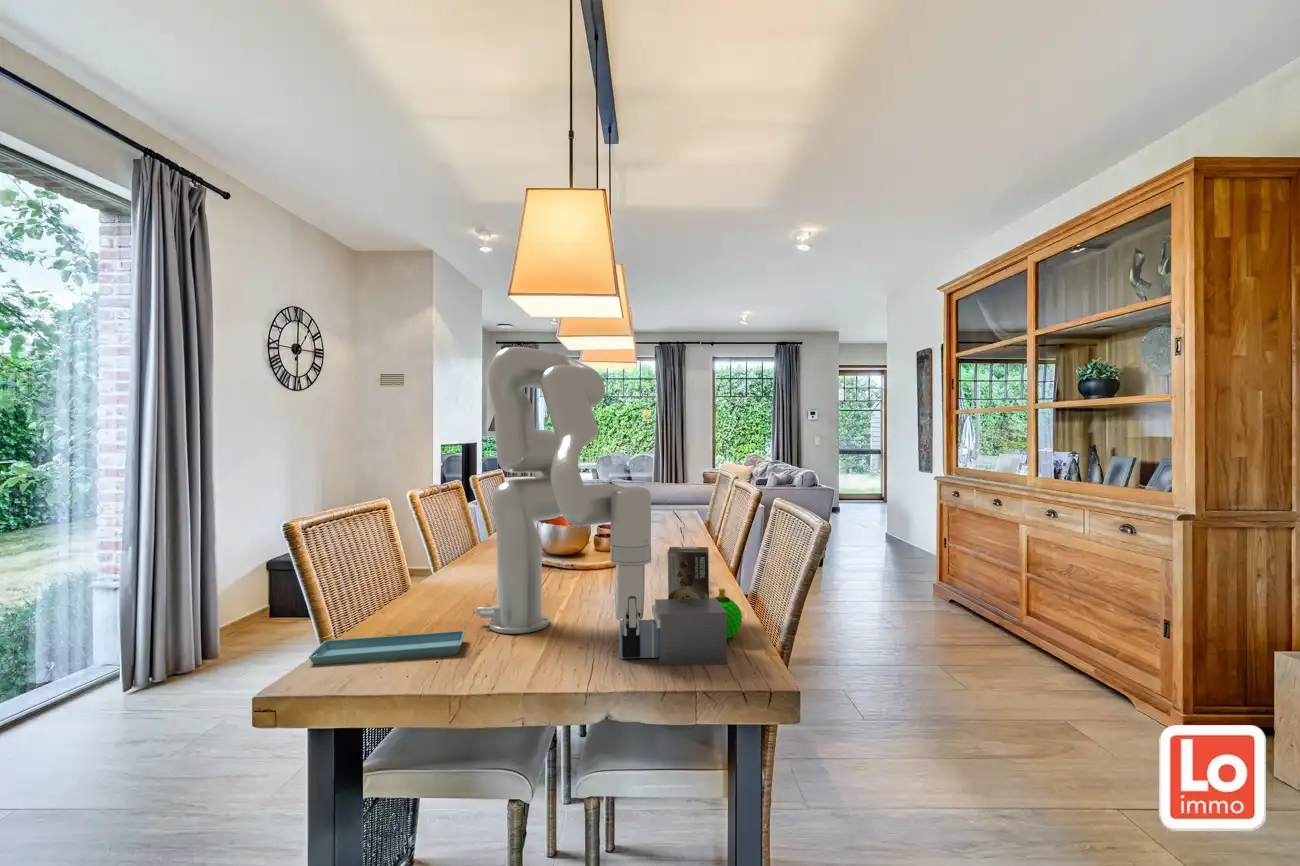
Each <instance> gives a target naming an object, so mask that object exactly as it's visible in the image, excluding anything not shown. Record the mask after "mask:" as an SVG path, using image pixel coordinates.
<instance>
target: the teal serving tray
mask: <svg viewBox="0 0 1300 866" xmlns="http://www.w3.org/2000/svg"><path fill="white" fill-rule="evenodd" d="M465 634H466V631H465V630H456V631H455V630H454V631H442V632H433V633H432V632H430V633H416V634H402V635H401V634H400V635H389V636H387V635H386V636H373V637H359V638H358V637H357V638H343V639H332V640H324V641H323V642H322V643H320V645H319V646H318V647H317V648H316V649H315V650H314V651H313V652H312V653H311V654H310V655H308V659H309V660H310V659H311V660H310V662H311V663H312V664H313V665H327V664H340V663H354V662H355V663H359V662H371V661H372V662H373V661H387V660H389V661H390V660H401V659H403V660H404V659H415V658H416V659H417V658H431V657H445V656H447V657H448V656H455V655H457V654H458V653H459V651H460V649H461V646H462V643H463V639H464V637H465ZM316 654H317V655H316ZM314 655H316V656H314ZM313 656H314V657H313Z"/></svg>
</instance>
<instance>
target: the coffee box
mask: <svg viewBox="0 0 1300 866" xmlns="http://www.w3.org/2000/svg"><path fill="white" fill-rule="evenodd" d="M709 554H710V552H709V547H708V546H669V549H668V551H667V592H668V593H667V594H668V595H667V599H699V598H710V568H709V567H710V558H709V557H710V555H709Z"/></svg>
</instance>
